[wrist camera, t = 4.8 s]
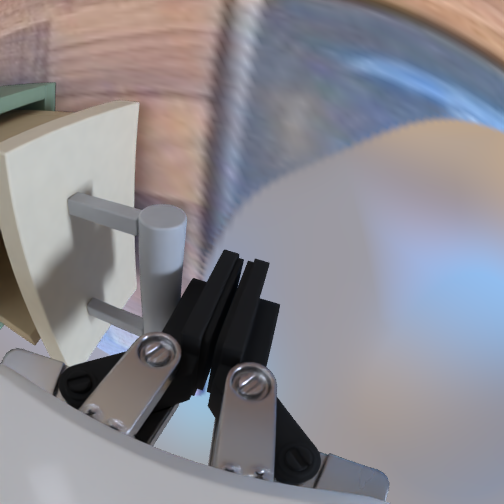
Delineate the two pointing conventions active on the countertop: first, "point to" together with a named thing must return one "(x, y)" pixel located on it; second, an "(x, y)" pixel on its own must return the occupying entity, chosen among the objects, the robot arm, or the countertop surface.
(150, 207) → the drawer
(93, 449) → the robot arm
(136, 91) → the countertop surface
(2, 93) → the cabinet
